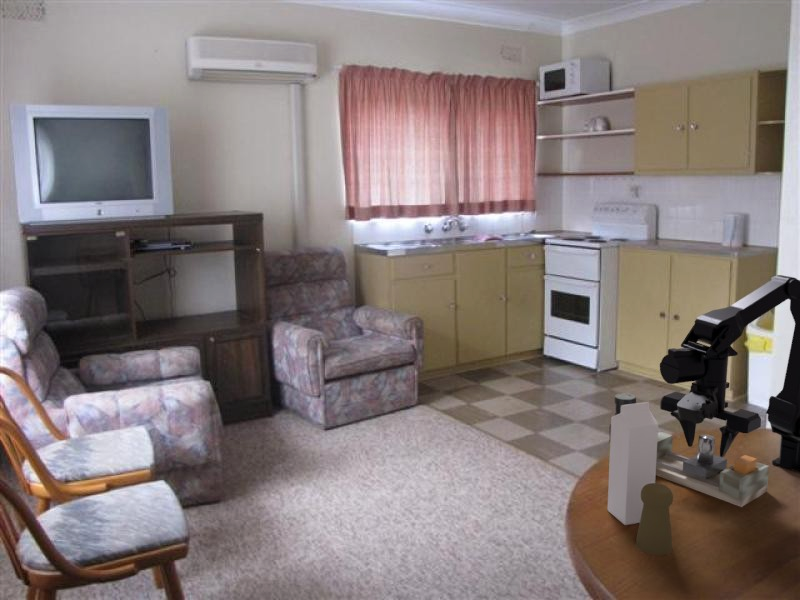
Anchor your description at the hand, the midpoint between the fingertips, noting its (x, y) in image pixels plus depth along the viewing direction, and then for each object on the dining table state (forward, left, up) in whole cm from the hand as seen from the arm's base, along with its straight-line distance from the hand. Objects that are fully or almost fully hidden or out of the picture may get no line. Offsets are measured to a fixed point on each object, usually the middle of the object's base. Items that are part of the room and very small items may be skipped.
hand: (705, 451), depth 149 cm
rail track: (0, -2, -6) cm, 7 cm away
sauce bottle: (+16, -8, -7) cm, 19 cm away
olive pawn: (+30, +8, -7) cm, 32 cm away
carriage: (0, 0, -4) cm, 4 cm away
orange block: (0, +8, -2) cm, 8 cm away
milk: (+24, -1, -7) cm, 25 cm away
